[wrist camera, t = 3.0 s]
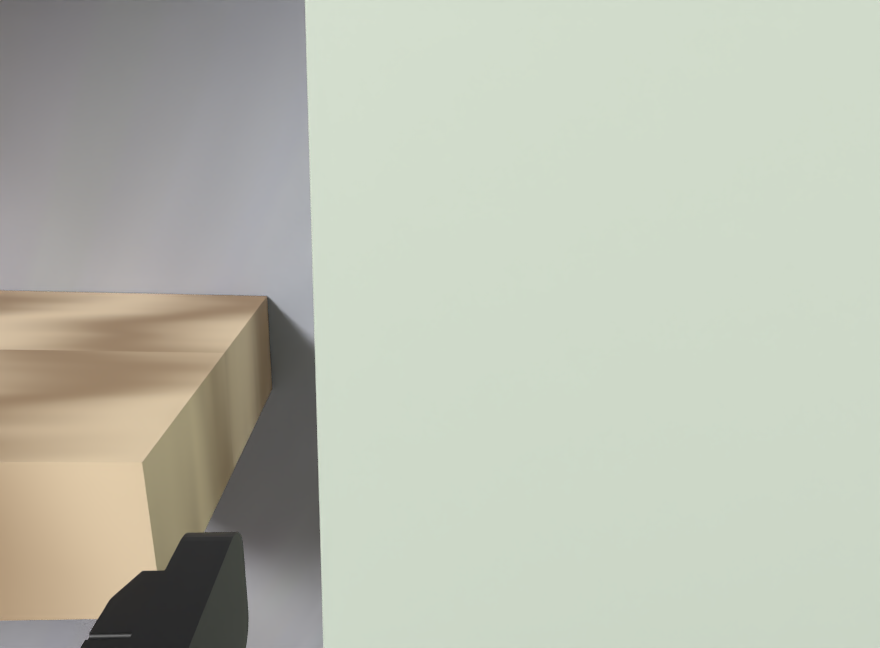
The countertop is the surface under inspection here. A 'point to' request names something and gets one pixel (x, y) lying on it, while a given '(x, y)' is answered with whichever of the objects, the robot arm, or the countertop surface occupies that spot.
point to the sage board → (597, 322)
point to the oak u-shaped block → (116, 435)
